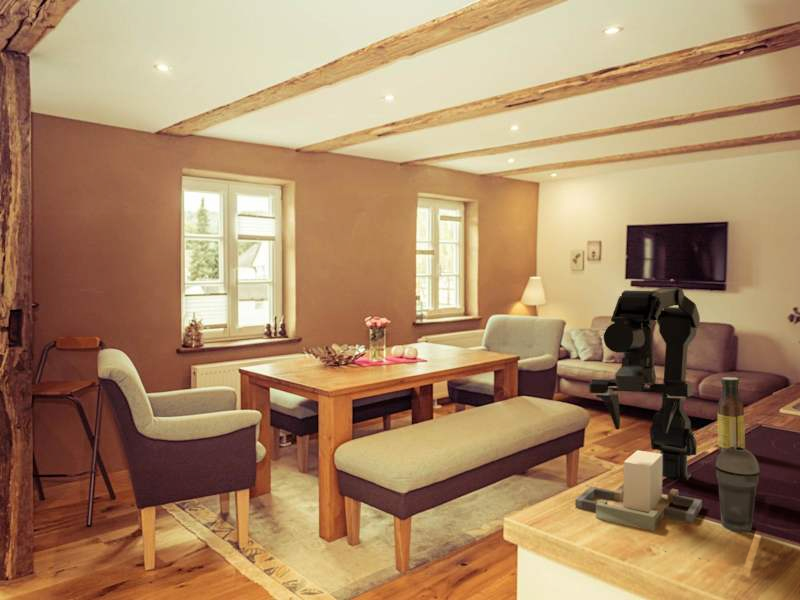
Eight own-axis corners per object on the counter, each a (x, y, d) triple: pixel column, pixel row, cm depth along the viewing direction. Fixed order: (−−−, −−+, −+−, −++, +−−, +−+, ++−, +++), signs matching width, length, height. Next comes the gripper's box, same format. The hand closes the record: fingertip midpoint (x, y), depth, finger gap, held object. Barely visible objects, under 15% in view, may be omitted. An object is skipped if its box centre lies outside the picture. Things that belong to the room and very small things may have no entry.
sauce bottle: (738, 449, 163) (739, 376, 163) (749, 456, 157) (750, 380, 156) (712, 449, 164) (714, 376, 163) (722, 455, 158) (724, 379, 157)
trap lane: (603, 487, 134) (603, 471, 134) (704, 507, 123) (705, 489, 122) (569, 516, 118) (570, 499, 118) (683, 543, 106) (684, 523, 106)
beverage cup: (735, 542, 106) (737, 429, 105) (704, 526, 113) (706, 420, 112) (769, 538, 108) (771, 426, 107) (736, 522, 115) (738, 417, 114)
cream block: (636, 492, 128) (637, 450, 128) (662, 497, 125) (662, 454, 125) (623, 506, 120) (623, 461, 120) (649, 512, 117) (650, 466, 117)
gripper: (578, 352, 121) (580, 431, 120) (679, 352, 110) (682, 440, 109) (597, 352, 130) (599, 426, 129) (692, 352, 119) (695, 433, 118)
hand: (641, 431), depth 121 cm, fingers open, 9 cm apart
